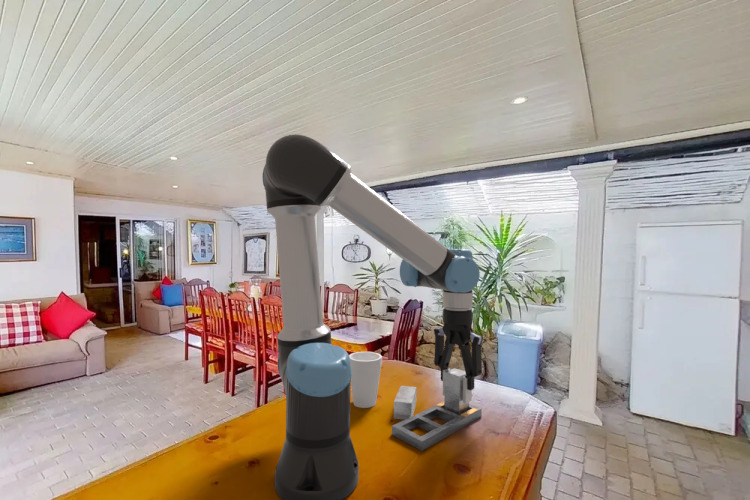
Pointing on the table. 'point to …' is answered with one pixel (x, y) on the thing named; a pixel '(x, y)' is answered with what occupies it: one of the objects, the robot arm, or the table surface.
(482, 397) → the table surface
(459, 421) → the grey flat frame
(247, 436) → the table surface
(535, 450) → the table surface
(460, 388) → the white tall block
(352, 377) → the foam cup
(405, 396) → the block
